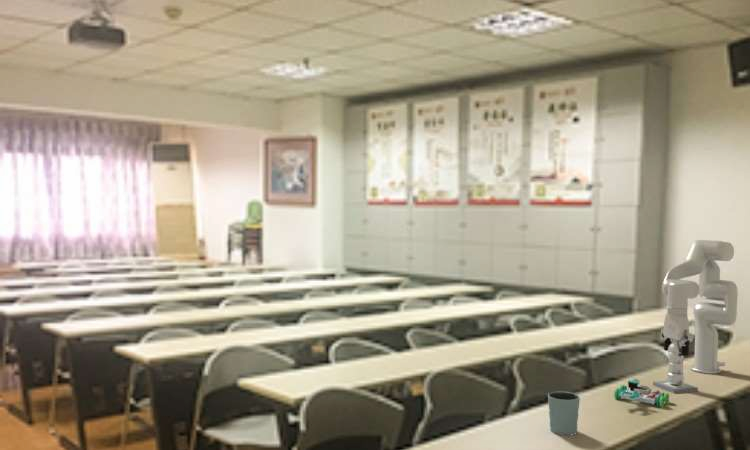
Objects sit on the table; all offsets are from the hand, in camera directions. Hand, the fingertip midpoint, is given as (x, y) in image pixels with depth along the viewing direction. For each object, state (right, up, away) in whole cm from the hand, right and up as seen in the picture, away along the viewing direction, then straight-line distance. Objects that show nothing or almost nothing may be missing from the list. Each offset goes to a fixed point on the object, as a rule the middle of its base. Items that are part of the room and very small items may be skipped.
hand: (676, 352), depth 272 cm
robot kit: (-25, -16, -22) cm, 36 cm away
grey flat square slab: (0, -15, 0) cm, 15 cm away
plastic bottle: (0, -14, +1) cm, 14 cm away
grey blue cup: (-63, -16, -55) cm, 85 cm away
